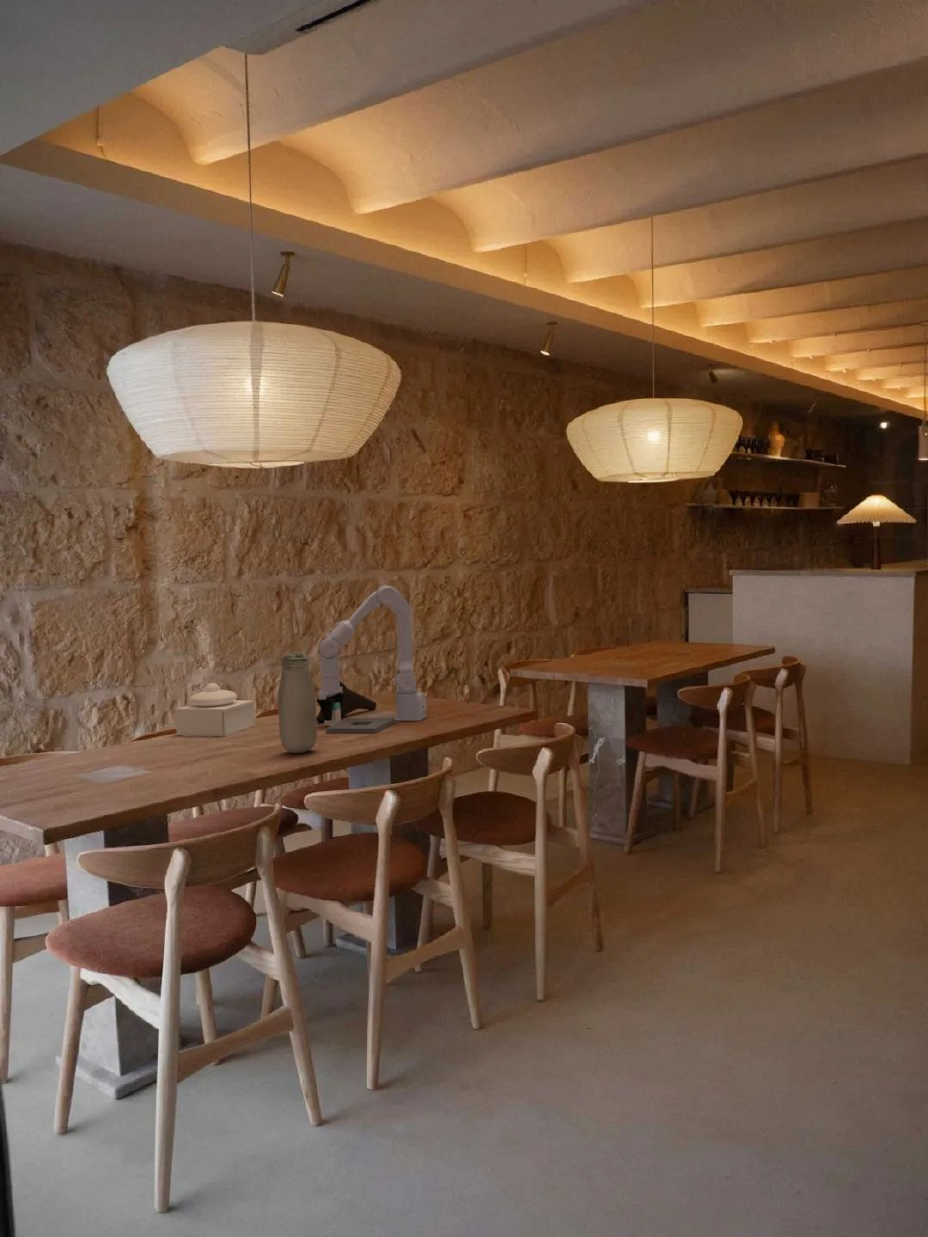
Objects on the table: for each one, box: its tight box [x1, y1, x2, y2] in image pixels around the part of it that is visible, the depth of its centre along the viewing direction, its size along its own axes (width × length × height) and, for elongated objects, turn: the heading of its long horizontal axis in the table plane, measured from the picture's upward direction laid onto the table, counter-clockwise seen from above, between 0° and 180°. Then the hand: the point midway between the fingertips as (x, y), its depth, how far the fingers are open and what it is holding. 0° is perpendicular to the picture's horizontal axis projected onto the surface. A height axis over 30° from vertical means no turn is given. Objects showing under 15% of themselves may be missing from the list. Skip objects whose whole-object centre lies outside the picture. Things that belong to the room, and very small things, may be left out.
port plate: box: [325, 717, 396, 735], centre depth 310 cm, size 16×18×2 cm
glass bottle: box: [277, 651, 318, 754], centre depth 275 cm, size 10×10×28 cm
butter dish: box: [174, 682, 256, 738], centre depth 317 cm, size 18×18×16 cm
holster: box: [316, 680, 377, 723], centre depth 335 cm, size 5×16×25 cm
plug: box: [323, 702, 342, 726], centre depth 319 cm, size 4×4×7 cm
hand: (332, 718), depth 319 cm, fingers open, 7 cm apart
